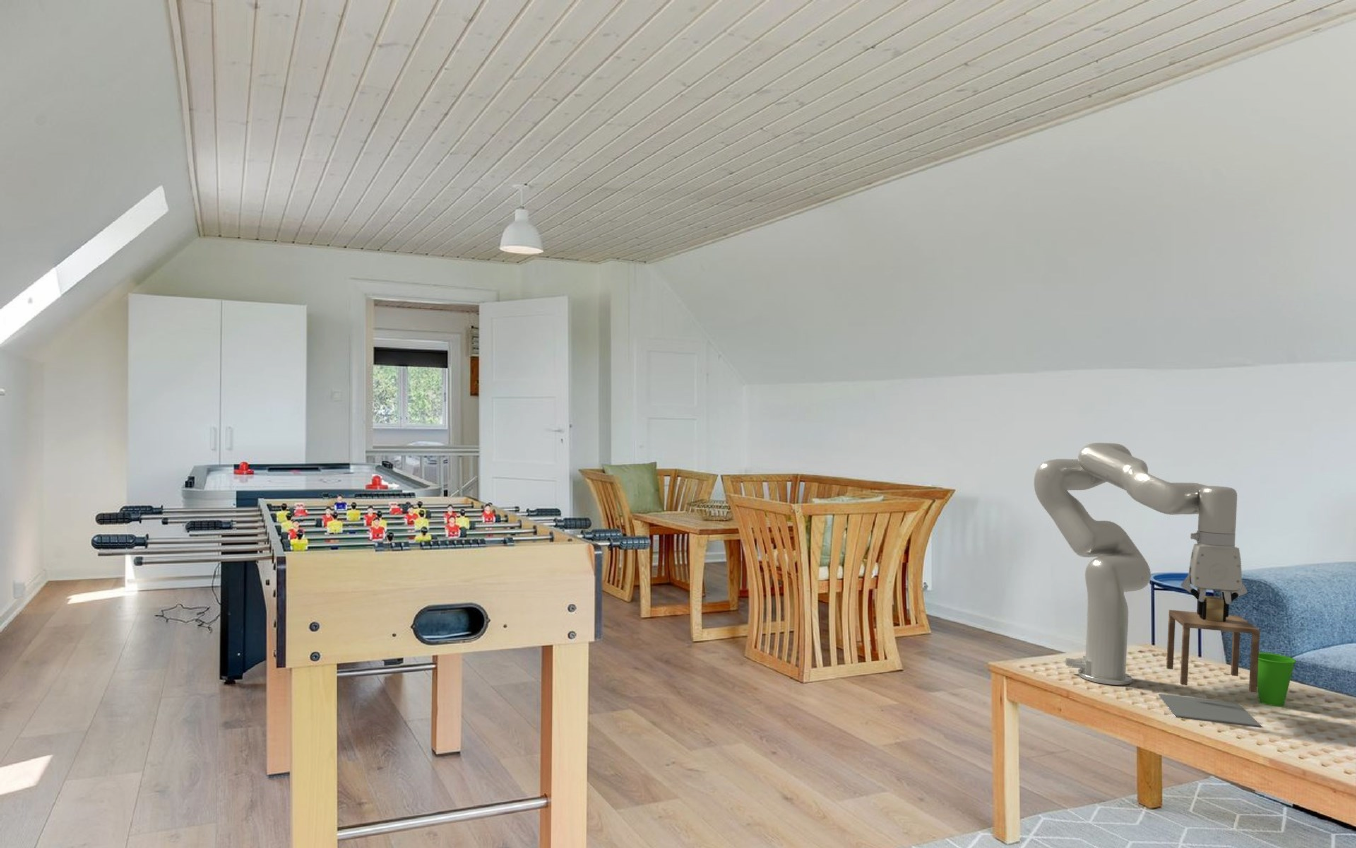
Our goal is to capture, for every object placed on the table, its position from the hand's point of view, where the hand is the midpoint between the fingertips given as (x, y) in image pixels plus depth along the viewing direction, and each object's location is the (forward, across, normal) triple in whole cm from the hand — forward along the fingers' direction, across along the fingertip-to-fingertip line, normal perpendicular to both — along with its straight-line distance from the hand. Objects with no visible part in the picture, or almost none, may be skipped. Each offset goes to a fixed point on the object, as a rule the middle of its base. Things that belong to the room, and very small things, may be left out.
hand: (1212, 618), depth 213 cm
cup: (+22, +17, +14) cm, 31 cm away
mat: (+21, 0, 0) cm, 21 cm away
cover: (+14, 0, 0) cm, 14 cm away
